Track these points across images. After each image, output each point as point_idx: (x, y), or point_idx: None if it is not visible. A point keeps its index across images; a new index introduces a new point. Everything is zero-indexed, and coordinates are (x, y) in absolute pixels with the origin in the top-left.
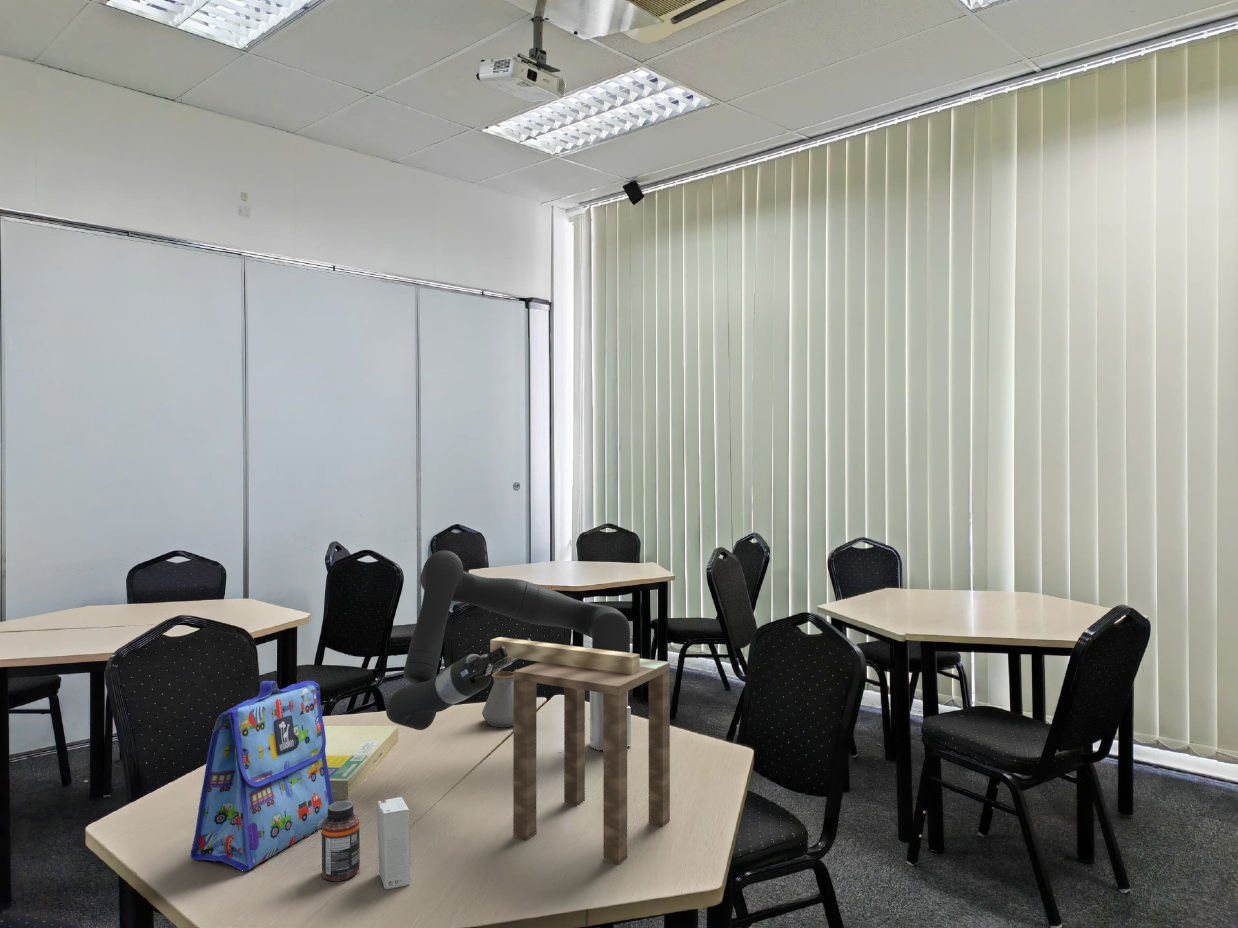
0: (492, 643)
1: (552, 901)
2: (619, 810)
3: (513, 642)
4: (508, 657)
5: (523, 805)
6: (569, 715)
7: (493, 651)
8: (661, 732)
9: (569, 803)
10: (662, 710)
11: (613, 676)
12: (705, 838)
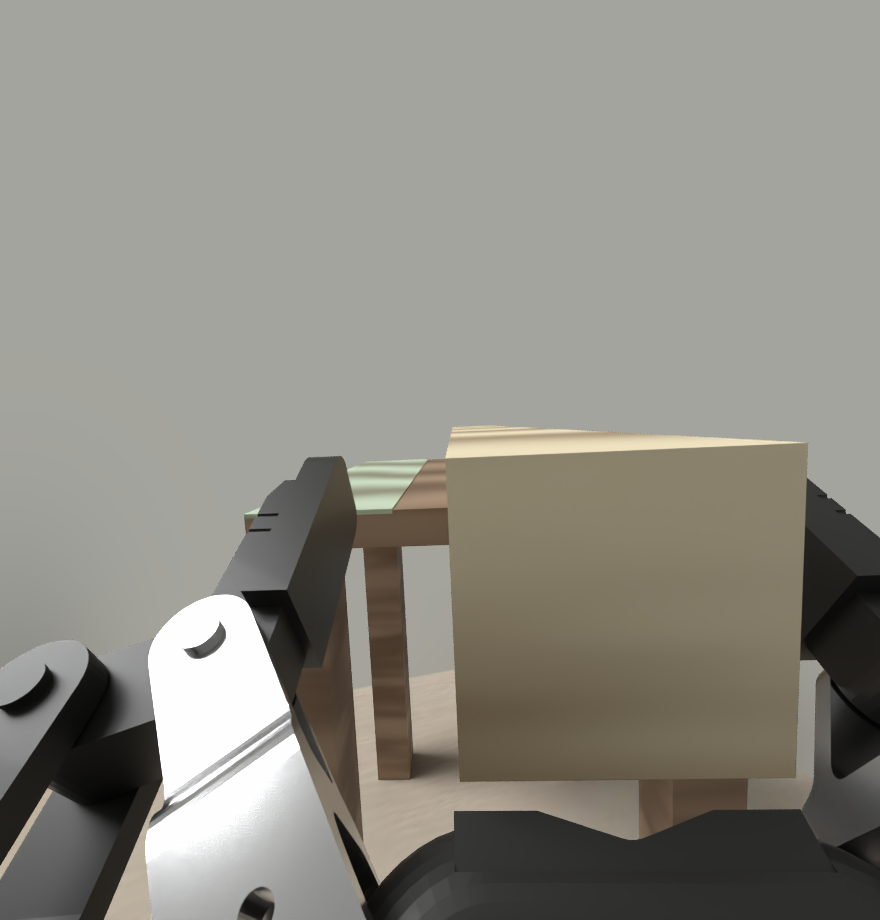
0: (759, 510)
1: (761, 778)
2: None
3: (579, 431)
4: (338, 804)
5: None
6: (346, 771)
7: (827, 510)
8: (403, 589)
9: None
10: (401, 547)
11: None
12: (426, 693)
